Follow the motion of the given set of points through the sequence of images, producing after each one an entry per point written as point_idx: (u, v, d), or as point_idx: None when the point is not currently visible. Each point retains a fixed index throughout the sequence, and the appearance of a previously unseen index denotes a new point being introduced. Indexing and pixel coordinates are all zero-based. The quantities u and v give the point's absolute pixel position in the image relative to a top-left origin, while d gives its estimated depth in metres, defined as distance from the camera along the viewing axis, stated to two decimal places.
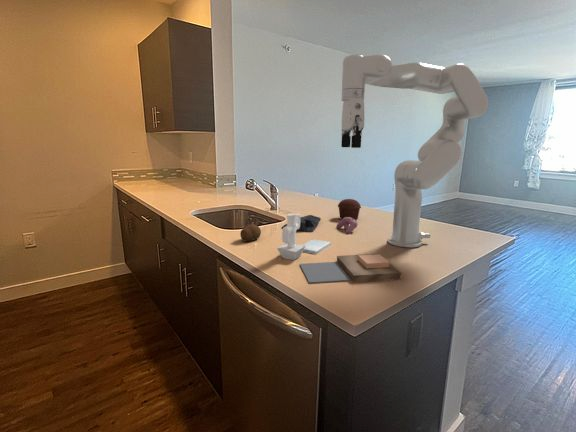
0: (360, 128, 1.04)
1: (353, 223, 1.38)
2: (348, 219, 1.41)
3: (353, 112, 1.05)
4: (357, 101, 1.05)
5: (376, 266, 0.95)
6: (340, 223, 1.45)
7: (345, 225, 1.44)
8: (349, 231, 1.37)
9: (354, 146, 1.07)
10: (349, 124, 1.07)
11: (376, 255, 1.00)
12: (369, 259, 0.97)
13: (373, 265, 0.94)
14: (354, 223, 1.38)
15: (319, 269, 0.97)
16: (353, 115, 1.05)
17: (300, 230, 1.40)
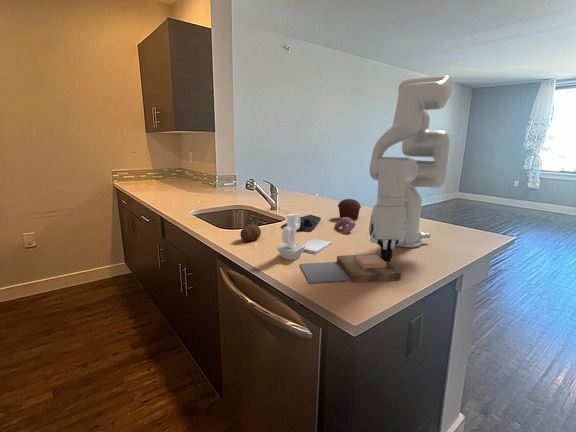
0: None
1: (351, 223, 1.37)
2: (346, 219, 1.40)
3: None
4: None
5: (373, 266, 0.94)
6: (338, 223, 1.44)
7: (343, 225, 1.43)
8: (347, 231, 1.37)
9: None
10: (402, 234, 0.95)
11: (373, 255, 1.00)
12: (366, 260, 0.97)
13: (370, 265, 0.94)
14: (352, 223, 1.38)
15: (319, 269, 0.97)
16: None
17: (299, 229, 1.41)
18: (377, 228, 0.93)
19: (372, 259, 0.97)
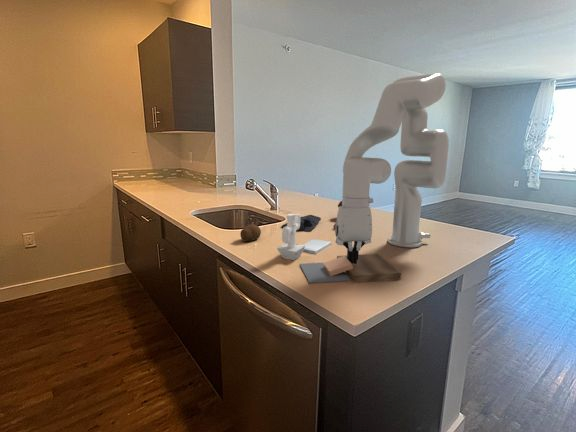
0: None
1: None
2: None
3: (371, 222, 0.94)
4: None
5: (340, 271, 0.93)
6: None
7: None
8: None
9: None
10: (367, 235, 0.94)
11: (341, 258, 0.98)
12: (332, 265, 0.95)
13: (336, 271, 0.93)
14: None
15: (319, 269, 0.97)
16: None
17: (299, 229, 1.41)
18: (342, 230, 0.92)
19: (338, 263, 0.95)
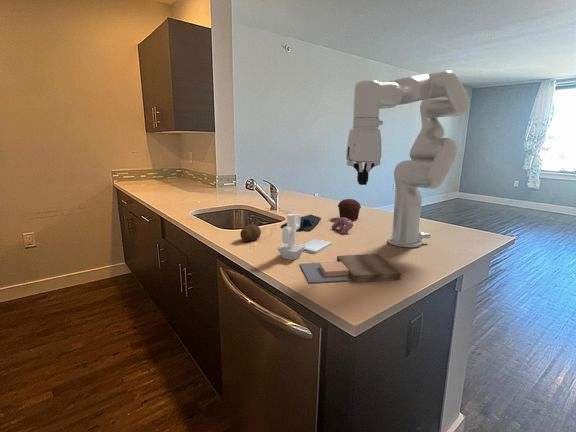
0: None
1: (348, 224, 1.37)
2: (343, 220, 1.40)
3: None
4: None
5: (335, 274, 0.93)
6: (335, 224, 1.44)
7: (340, 226, 1.43)
8: (344, 232, 1.36)
9: None
10: (377, 156, 0.99)
11: (338, 263, 0.99)
12: (329, 267, 0.95)
13: (332, 273, 0.93)
14: (349, 224, 1.37)
15: (319, 269, 0.97)
16: None
17: (298, 229, 1.41)
18: (353, 149, 0.97)
19: (335, 266, 0.96)
